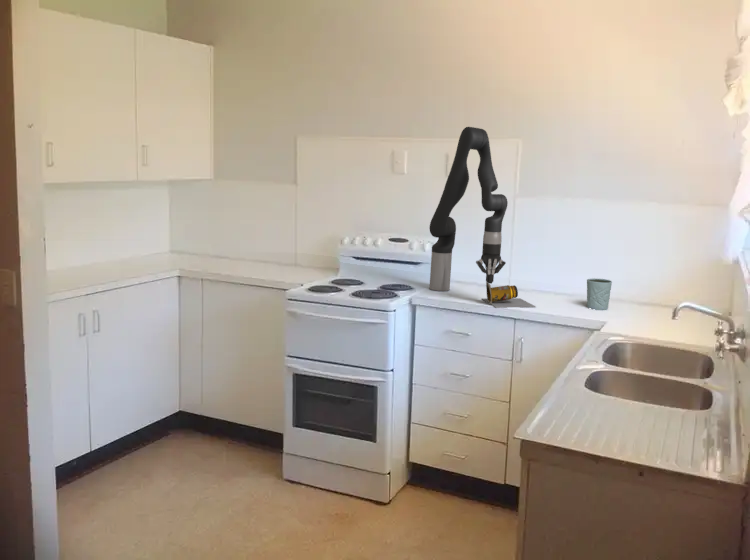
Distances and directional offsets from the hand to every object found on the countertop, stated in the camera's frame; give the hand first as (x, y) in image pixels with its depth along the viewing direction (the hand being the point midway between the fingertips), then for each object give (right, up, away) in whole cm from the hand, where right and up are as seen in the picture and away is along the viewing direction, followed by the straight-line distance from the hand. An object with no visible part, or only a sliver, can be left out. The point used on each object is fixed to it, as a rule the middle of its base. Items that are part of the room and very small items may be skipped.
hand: (489, 283), depth 319 cm
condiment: (0, -4, +1) cm, 4 cm away
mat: (+9, -9, +4) cm, 13 cm away
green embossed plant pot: (+46, -11, +3) cm, 47 cm away
